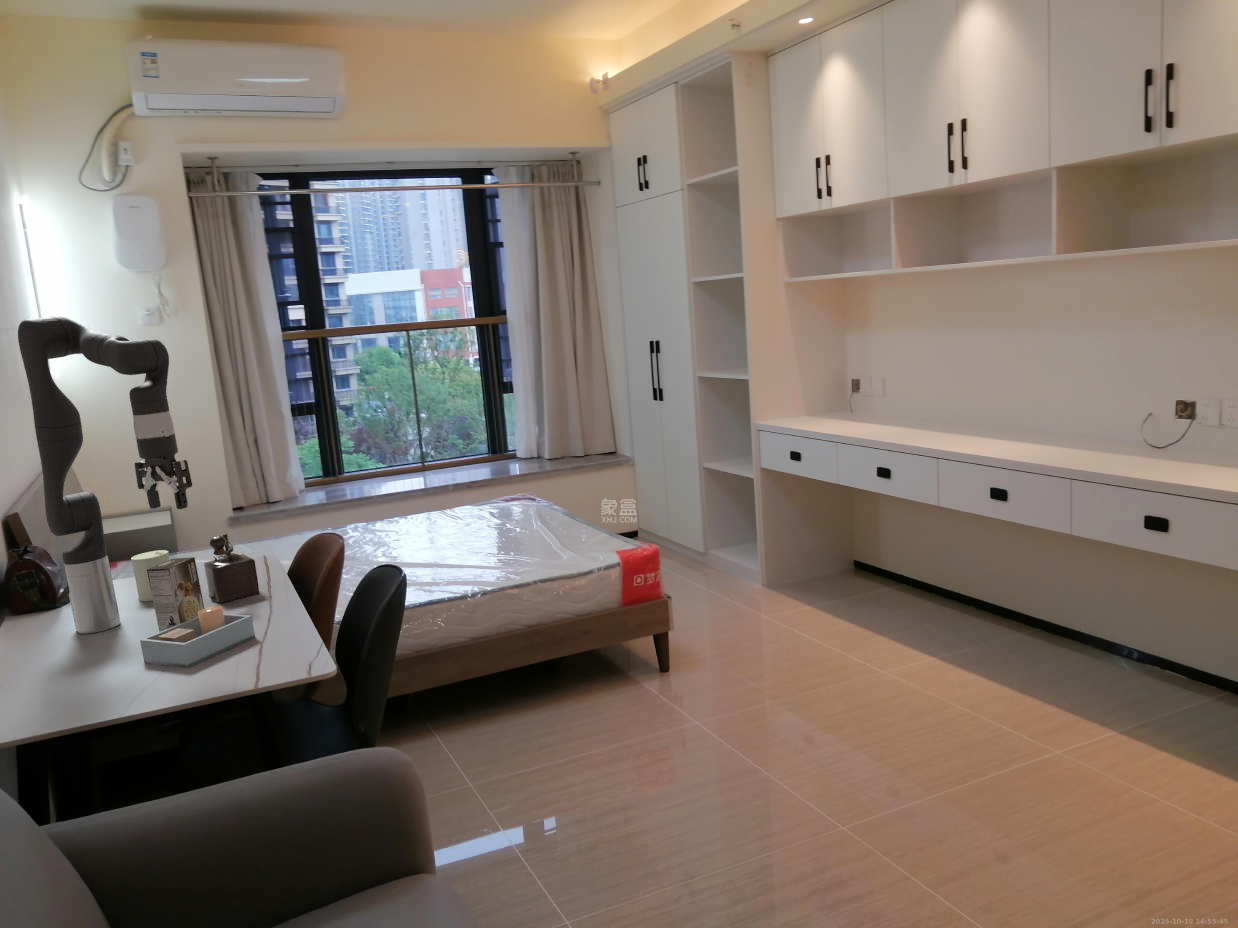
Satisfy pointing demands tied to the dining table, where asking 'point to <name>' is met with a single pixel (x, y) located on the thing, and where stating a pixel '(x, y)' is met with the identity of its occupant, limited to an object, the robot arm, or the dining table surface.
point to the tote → (197, 642)
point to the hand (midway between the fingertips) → (168, 508)
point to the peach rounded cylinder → (211, 619)
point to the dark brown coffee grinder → (230, 573)
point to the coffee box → (175, 591)
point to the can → (140, 571)
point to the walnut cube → (178, 635)
